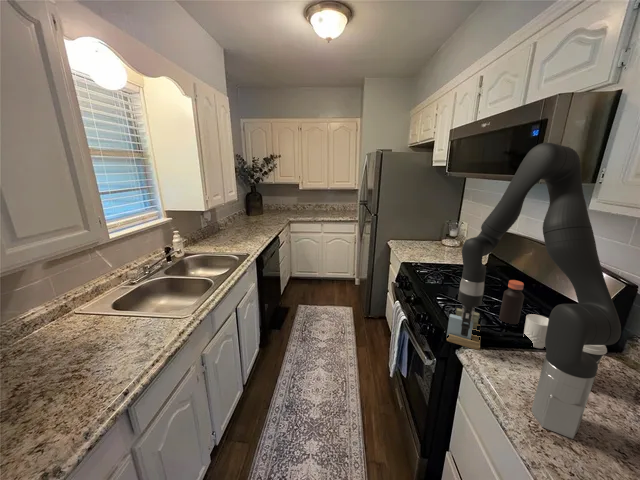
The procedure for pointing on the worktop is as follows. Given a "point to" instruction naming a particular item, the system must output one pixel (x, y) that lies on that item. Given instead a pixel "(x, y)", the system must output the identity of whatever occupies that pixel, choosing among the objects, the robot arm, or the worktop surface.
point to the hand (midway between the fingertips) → (464, 329)
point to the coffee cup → (595, 351)
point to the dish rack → (475, 339)
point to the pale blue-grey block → (458, 326)
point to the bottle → (512, 302)
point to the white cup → (536, 329)
